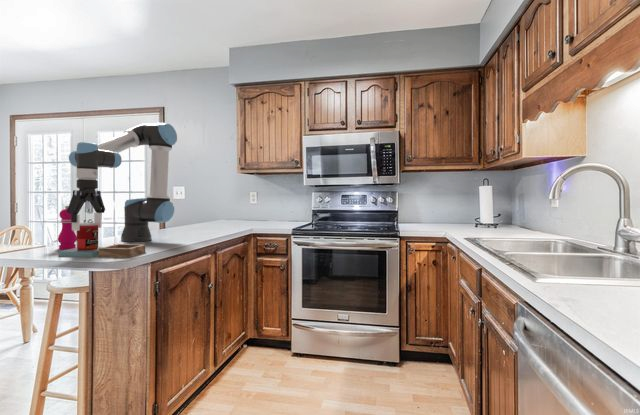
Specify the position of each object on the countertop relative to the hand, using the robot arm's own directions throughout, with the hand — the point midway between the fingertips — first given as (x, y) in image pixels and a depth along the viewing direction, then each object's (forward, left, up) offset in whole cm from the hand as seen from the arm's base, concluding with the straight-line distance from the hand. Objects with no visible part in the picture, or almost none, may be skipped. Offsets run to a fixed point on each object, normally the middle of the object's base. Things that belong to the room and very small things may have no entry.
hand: (87, 229), depth 151 cm
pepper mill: (-12, -18, -11) cm, 24 cm away
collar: (-1, +15, -11) cm, 18 cm away
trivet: (0, 0, -11) cm, 11 cm away
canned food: (0, 0, -9) cm, 9 cm away
